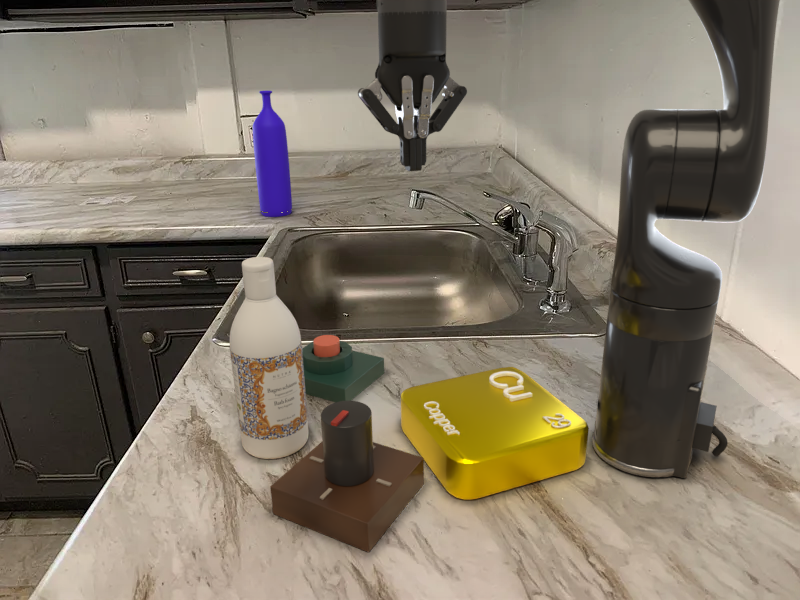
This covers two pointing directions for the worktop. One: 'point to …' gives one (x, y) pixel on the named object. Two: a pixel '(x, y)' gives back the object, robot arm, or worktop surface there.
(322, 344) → the red button cap
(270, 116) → the bottle
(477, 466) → the element tile
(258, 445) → the bath foam
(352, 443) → the dial
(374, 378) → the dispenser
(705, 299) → the robot arm
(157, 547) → the worktop surface
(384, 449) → the dial panel
